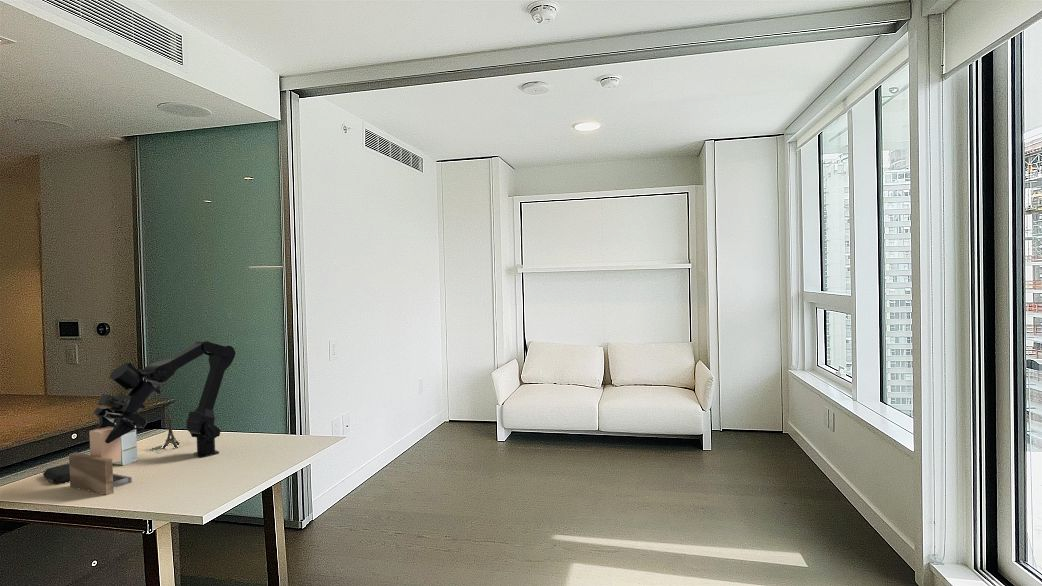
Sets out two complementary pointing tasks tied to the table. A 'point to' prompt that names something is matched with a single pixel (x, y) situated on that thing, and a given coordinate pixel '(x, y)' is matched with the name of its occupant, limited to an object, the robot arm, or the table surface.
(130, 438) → the syrup box
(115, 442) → the pinkish tan block
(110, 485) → the cleat board
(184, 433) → the table surface
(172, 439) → the eiffel tower figurine
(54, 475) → the carrying case or bag
